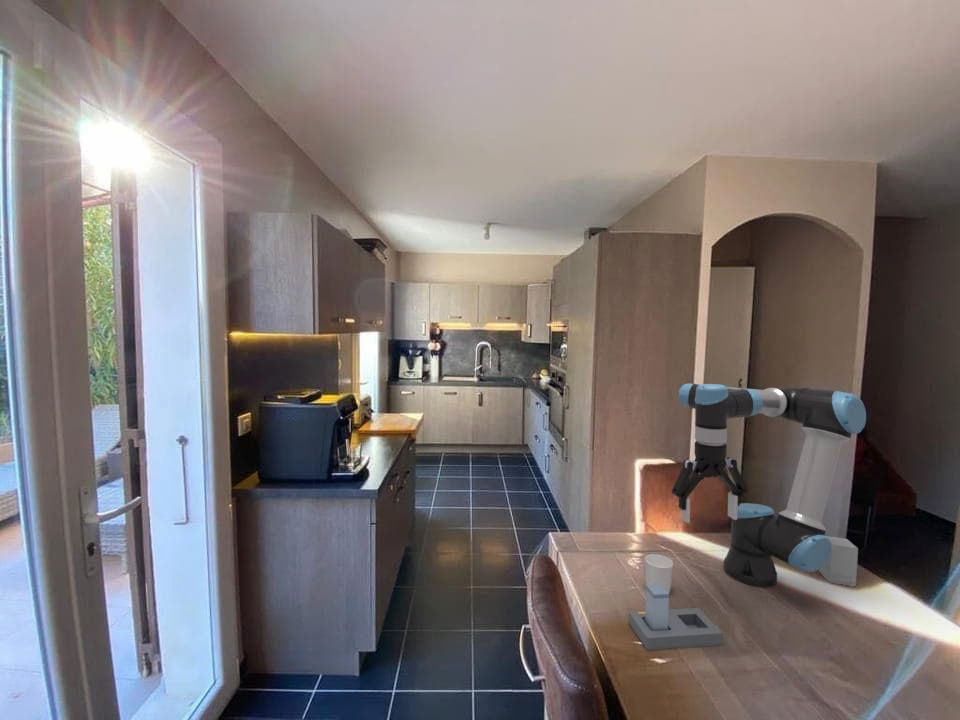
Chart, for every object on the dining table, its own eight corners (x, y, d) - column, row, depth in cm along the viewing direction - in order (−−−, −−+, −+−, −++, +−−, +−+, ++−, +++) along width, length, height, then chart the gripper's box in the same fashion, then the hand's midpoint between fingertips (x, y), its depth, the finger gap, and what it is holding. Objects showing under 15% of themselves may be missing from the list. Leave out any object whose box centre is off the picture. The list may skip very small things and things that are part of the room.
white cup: (674, 601, 126) (675, 569, 125) (646, 598, 127) (647, 565, 127) (668, 586, 134) (669, 555, 133) (641, 583, 135) (643, 552, 135)
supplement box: (856, 587, 134) (859, 548, 134) (828, 583, 137) (830, 544, 136) (845, 575, 141) (847, 538, 141) (818, 571, 144) (820, 534, 143)
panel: (697, 621, 117) (698, 607, 117) (722, 648, 107) (723, 632, 107) (628, 626, 115) (628, 611, 115) (646, 653, 105) (647, 637, 105)
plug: (659, 628, 113) (660, 584, 112) (667, 639, 109) (669, 594, 108) (644, 629, 112) (646, 585, 111) (652, 640, 108) (654, 594, 108)
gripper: (743, 436, 119) (741, 510, 120) (658, 440, 116) (658, 516, 117) (764, 443, 111) (762, 522, 113) (674, 448, 109) (673, 528, 110)
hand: (709, 519), depth 115 cm, fingers open, 13 cm apart
